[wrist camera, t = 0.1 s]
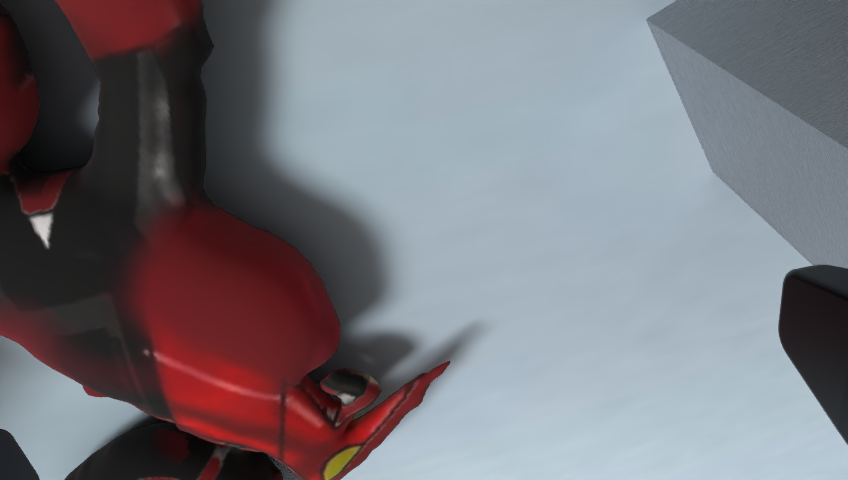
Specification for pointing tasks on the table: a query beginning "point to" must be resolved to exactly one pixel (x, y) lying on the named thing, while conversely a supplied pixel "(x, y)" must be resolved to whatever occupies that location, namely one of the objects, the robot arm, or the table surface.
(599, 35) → the table surface
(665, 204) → the table surface
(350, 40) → the table surface
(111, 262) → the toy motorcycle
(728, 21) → the block
